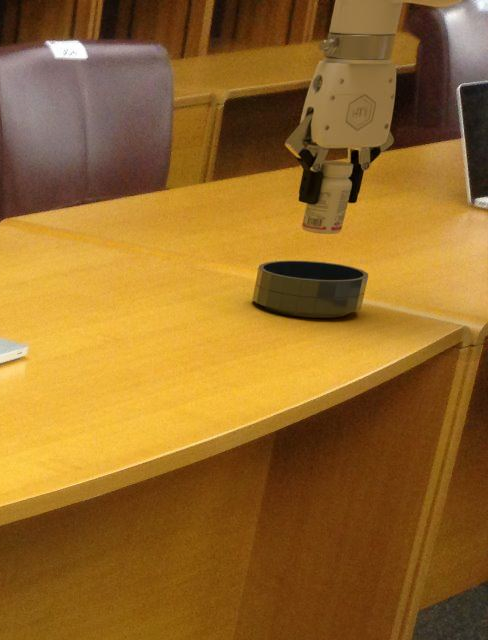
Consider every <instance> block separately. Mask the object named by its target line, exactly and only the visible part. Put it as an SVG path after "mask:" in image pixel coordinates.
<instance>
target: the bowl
mask: <svg viewBox="0 0 488 640" xmlns="http://www.w3.org/2000/svg"><path fill="white" fill-rule="evenodd" d="M368 280H369V273H368V272H366V270H363V269H360V268H357V267H354V266H350V265H346V264H341V263H340V264H339V263H331V262H324V261H314V260H313V261H312V260H274V261H268V262H264V263H261V264H259V266H258V268H257V273H256V278H255V284H254V289H253V295H252V300H253V302H255V303H256V304H258V305H260V306H262V308H264V309H265V310H267V311H270V312H272V313H276V314H280V315H284V316H289V317H297V318H307V319H308V318H309V319H334V318H341V317H346V316H348V315H350V313H355V312H357V311H360V310H361V309H362V307H363V302H364V297H365V292H366V288H367V284H368Z"/></svg>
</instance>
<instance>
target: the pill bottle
mask: <svg viewBox="0 0 488 640" xmlns="http://www.w3.org/2000/svg"><path fill="white" fill-rule="evenodd" d="M352 169H353V164H351V163H348V161H340V160H324V162H323V164H322V167H321V169H320V172H323V174H324V176H323V180H322V185H321V190H320V195H319V200H318V203H317V204H315V205H311V204H307V203H306V205H305V206H306V207H305V211H304V214H303V218H302V223H301V228H302V230H303V231H305V232H308V233H314V234H323V235H336V234H339V233H340V232H341V231H342V229H343V225H344V220H345V216H346V212H347V209H348V205H349V203H348V200H349V196H350V192H351V187H352V182H351V180H350V179H348V178H349V177H350V176H351V174H352Z"/></svg>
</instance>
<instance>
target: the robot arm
mask: <svg viewBox="0 0 488 640" xmlns="http://www.w3.org/2000/svg"><path fill="white" fill-rule="evenodd" d="M334 1H335V2H334V6H333V11H332V16H331V21H330V25H329V30H328V31H329V32H328V33H327V39H321V41H319V43H318V50H319V52H323V53H324V54H323V60H319V61H318V63H317V65H316V68H315V70H314V73H313V76H312V79H311V81H310V84H309V87H308V90H307V93H306V97H305V100H304V104H303V108H302V113H301V116H300V121H299V125H298V126H297V127H296V128H294V131H293V132H292V133H291V134H290V135H289V136H288V137H287V139H285V141H284V146H285V147H286V148H287V149H288V151H290V152H291V153H292V154H293V156H294V158H295V159H296V160H297V162H298V164H299V169H301V170H302V175H301V180H300V185H299V189H298V202H300V203H304V204H306V205H307V204H311V205H315V204H317V203H318V200H319V195H320V190H321V185H322V180H323V176H324V174H323V172H320V169H321V167H322V164H323V162H324V161H326V160H325V159H326V157H327V155H328V153H329V150H330V149H347V162H348V163H351V164H353V169H352V174H351V176H350V177H349V178H348V179H350V180H351V182H352V187H351V192H350V196H349V200H348V204H356V203H357V201H358V197H359V194H360V191H361V187H362V182H363V177H364V173H365V171H368V170H369V169H370V167H371V164H372V163H373V162H374V161H375V160H376V159H378V157H379V156H380V155H381V153H383V152H384V151H386V150H387V149H388V148H390V147H391V146H392V145H393V144H394V142H395V138H394V135H393V134H392V132H391V125H392V121H393V120H392V119H393V113H394V108H395V107H394V106H395V99H396V90H397V63H396V62H395V61H391V60H392V55H393V50H394V46H395V40H396V37H397V31H398V26H399V22H400V17H401V12H402V9H403V5H404V3H408V4H415V5H420V6H421V5H423V6H428V7H434V8H446V7H451V6H454V5H457V4H459V3H461V2H463V1H464V0H334ZM305 144H306V145H307V146H305Z"/></svg>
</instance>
